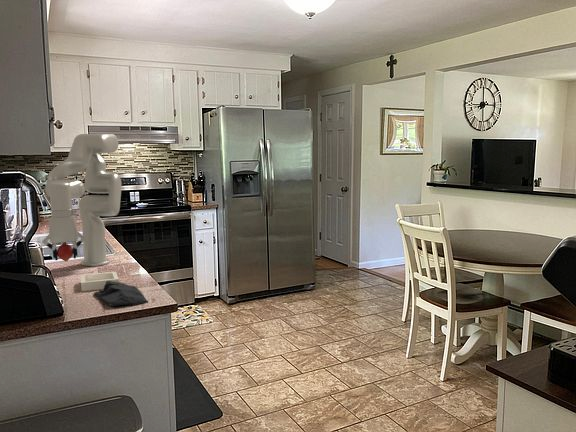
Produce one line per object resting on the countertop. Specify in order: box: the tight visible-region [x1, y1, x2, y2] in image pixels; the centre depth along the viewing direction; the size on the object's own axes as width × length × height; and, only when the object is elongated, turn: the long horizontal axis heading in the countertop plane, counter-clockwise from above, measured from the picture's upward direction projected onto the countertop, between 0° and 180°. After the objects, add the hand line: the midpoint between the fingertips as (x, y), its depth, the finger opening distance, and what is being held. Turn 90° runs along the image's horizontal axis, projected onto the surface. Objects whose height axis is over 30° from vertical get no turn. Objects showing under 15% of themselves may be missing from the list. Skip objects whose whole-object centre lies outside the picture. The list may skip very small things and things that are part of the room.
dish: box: [80, 270, 120, 292], centre depth 179 cm, size 13×13×3 cm
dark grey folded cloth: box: [93, 281, 149, 307], centre depth 162 cm, size 15×22×5 cm
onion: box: [57, 243, 74, 262], centre depth 183 cm, size 6×6×8 cm
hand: (65, 258), depth 184 cm, fingers closed on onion, 5 cm apart
